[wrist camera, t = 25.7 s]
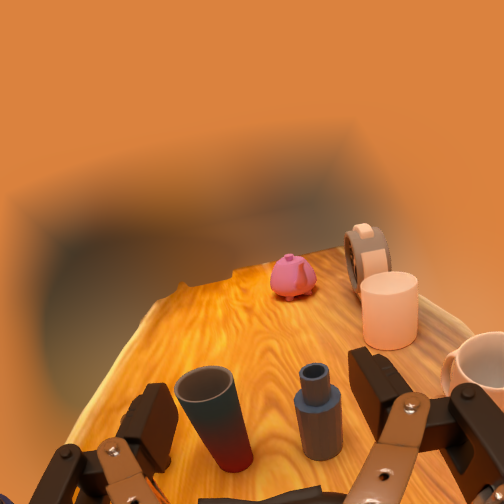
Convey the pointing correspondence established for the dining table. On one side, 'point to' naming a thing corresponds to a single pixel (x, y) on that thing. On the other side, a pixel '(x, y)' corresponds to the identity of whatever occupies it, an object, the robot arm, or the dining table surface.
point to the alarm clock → (365, 254)
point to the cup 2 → (390, 310)
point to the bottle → (319, 413)
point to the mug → (477, 366)
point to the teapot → (292, 277)
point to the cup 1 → (216, 415)
